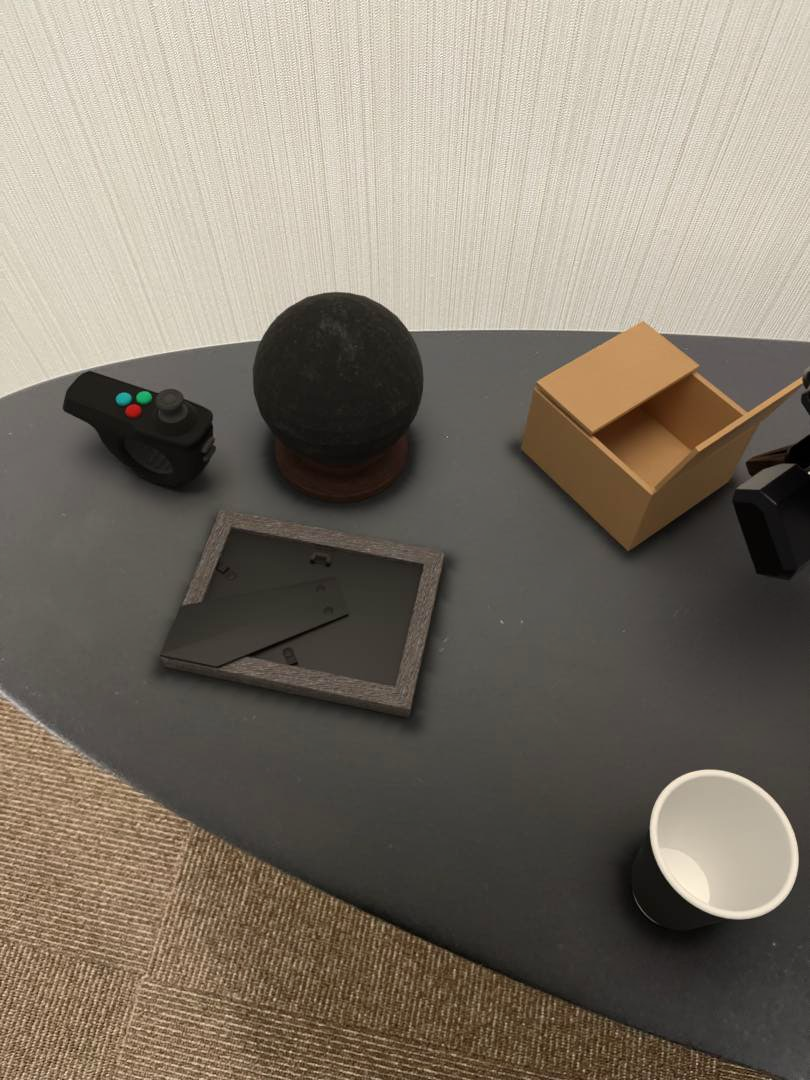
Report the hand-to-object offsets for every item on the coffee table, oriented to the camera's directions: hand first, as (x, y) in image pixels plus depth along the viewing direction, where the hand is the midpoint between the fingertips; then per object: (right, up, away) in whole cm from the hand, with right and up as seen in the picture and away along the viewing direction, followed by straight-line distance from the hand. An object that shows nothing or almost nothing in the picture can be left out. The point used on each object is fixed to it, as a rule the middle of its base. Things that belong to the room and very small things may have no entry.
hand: (750, 465), depth 65 cm
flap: (-1, +3, 0) cm, 3 cm away
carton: (-6, +1, +12) cm, 14 cm away
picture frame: (-32, -11, +4) cm, 34 cm away
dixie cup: (-8, -28, -7) cm, 30 cm away
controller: (-45, +1, +11) cm, 47 cm away
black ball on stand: (-30, +2, +12) cm, 33 cm away
